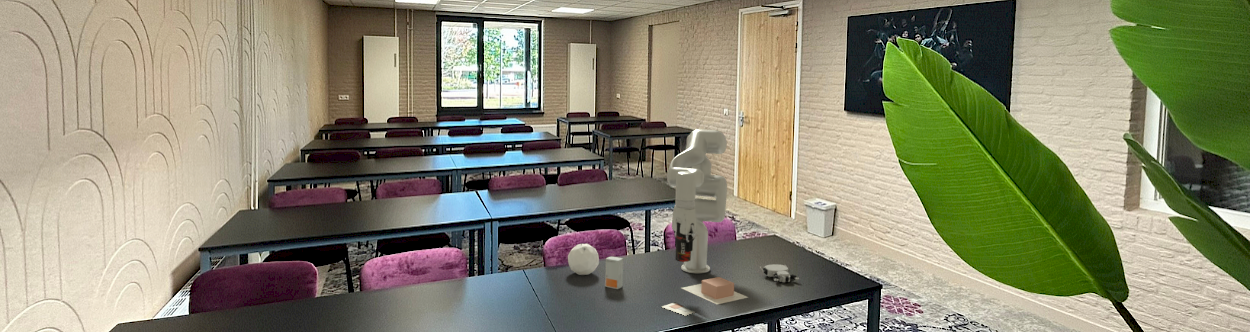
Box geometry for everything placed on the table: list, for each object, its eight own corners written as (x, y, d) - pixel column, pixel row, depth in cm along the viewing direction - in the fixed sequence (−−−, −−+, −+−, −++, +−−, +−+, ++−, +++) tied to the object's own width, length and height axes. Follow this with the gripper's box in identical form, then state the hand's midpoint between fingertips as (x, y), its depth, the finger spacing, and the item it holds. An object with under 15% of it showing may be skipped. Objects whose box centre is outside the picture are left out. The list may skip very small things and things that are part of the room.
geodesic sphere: (607, 266, 302) (600, 236, 308) (575, 269, 297) (569, 238, 303) (597, 278, 314) (591, 248, 320) (567, 281, 309) (561, 251, 315)
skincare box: (604, 287, 293) (605, 258, 291) (609, 284, 297) (610, 255, 295) (617, 289, 290) (618, 260, 288) (622, 286, 294) (623, 258, 292)
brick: (701, 292, 286) (701, 280, 285) (718, 288, 291) (719, 276, 290) (716, 299, 279) (716, 286, 278) (733, 295, 284) (734, 283, 283)
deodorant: (678, 262, 279) (679, 224, 276) (673, 257, 285) (674, 220, 282) (692, 261, 280) (694, 223, 278) (687, 256, 286) (689, 219, 283)
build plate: (680, 290, 291) (680, 287, 291) (711, 284, 300) (711, 281, 300) (716, 307, 273) (716, 304, 273) (748, 299, 282) (748, 297, 282)
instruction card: (661, 307, 271) (661, 306, 271) (677, 302, 277) (677, 301, 277) (685, 316, 263) (685, 315, 263) (701, 310, 269) (701, 309, 269)
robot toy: (800, 285, 304) (783, 272, 318) (801, 275, 303) (784, 262, 317) (773, 287, 301) (758, 273, 315) (774, 277, 300) (759, 264, 314)
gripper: (664, 200, 284) (663, 244, 287) (690, 209, 270) (688, 256, 273) (679, 198, 288) (678, 242, 291) (706, 207, 273) (704, 253, 276)
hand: (683, 248), depth 282 cm, fingers closed on deodorant, 5 cm apart
